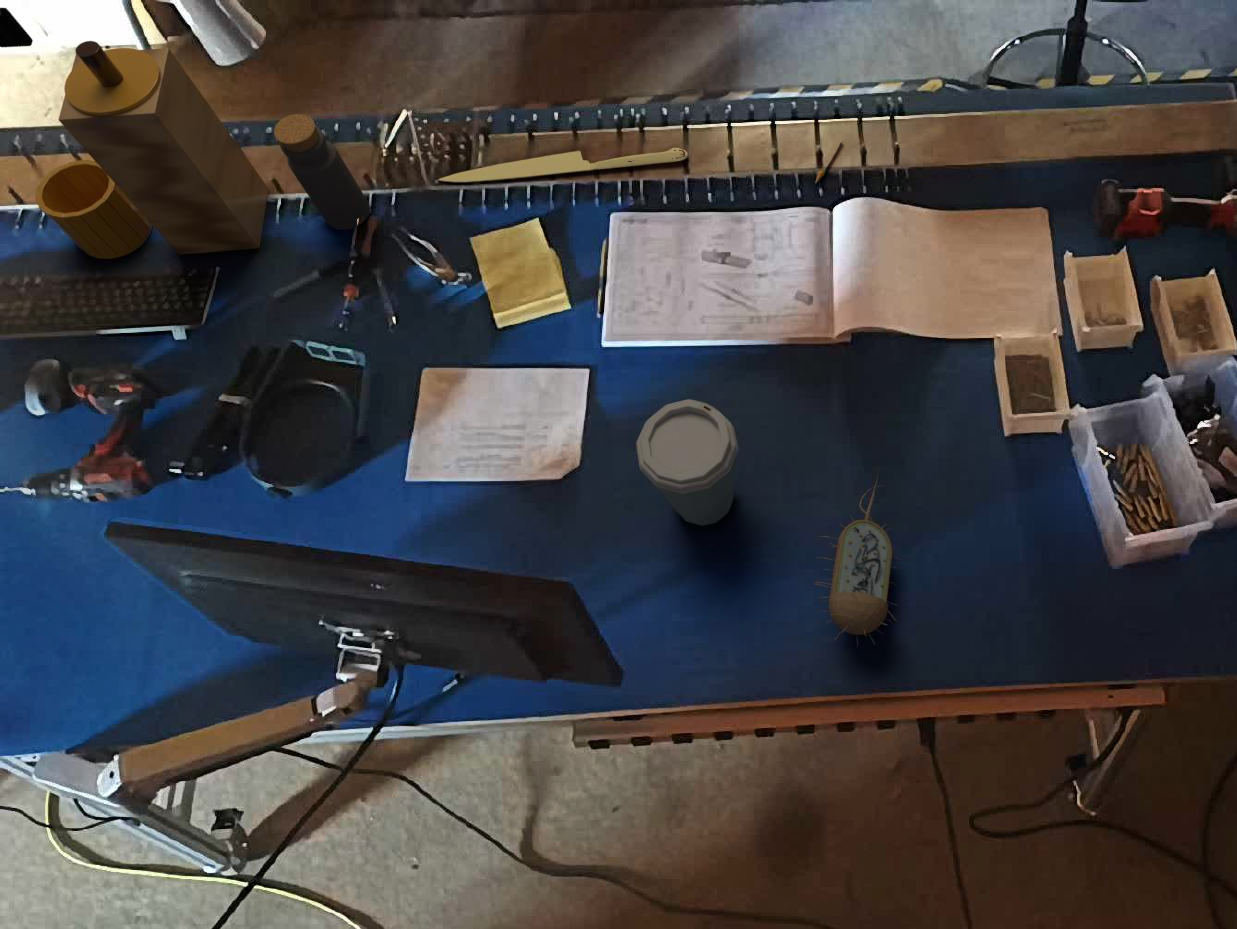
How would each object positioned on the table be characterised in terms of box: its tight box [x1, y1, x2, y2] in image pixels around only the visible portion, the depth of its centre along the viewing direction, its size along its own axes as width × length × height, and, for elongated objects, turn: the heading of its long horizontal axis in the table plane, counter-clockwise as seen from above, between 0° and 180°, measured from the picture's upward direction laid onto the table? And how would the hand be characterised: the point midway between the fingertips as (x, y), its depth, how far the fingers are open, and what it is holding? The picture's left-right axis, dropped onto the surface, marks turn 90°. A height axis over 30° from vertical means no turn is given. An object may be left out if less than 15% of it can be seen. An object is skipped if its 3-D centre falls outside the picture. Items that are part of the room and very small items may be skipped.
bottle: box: [273, 113, 371, 231], centre depth 133 cm, size 6×6×15 cm
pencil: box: [815, 170, 826, 184], centre depth 145 cm, size 1×8×1 cm, turn 157°
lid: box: [64, 40, 161, 116], centre depth 116 cm, size 10×10×5 cm
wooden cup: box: [35, 159, 154, 260], centre depth 134 cm, size 9×9×8 cm
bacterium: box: [815, 467, 903, 647], centre depth 116 cm, size 11×20×10 cm, turn 174°
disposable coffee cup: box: [635, 398, 739, 526], centre depth 117 cm, size 11×11×15 cm
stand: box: [58, 47, 270, 255], centre depth 128 cm, size 10×10×23 cm
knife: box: [437, 147, 689, 183], centre depth 144 cm, size 1×34×5 cm
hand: (27, 9), depth 106 cm, fingers open, 9 cm apart
